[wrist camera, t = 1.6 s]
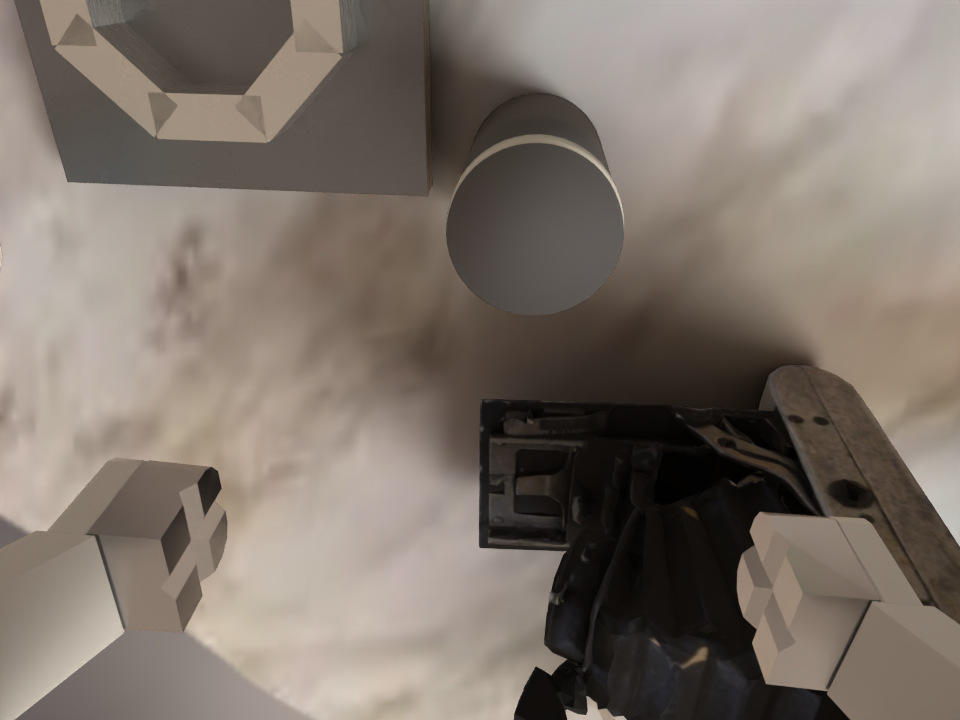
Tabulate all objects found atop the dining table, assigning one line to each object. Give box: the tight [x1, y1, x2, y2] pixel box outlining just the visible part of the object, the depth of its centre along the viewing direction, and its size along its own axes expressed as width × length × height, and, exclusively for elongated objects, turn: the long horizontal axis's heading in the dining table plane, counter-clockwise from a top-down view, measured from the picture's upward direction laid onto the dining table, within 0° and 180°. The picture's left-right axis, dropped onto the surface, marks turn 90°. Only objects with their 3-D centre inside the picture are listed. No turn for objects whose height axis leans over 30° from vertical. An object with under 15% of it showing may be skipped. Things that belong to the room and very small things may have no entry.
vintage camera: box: [479, 365, 960, 720], centre depth 24 cm, size 10×16×20 cm, turn 90°
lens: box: [446, 93, 624, 315], centre depth 23 cm, size 5×5×8 cm
